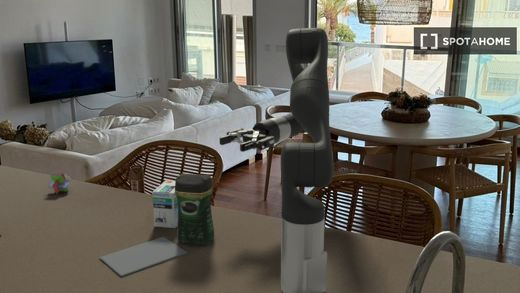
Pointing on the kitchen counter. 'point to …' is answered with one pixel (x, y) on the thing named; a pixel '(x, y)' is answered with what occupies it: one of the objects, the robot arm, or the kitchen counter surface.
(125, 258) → the grey flat rectangular panel
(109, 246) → the kitchen counter surface
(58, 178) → the geometric puzzle
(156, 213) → the light bulb box
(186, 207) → the coffee jar
